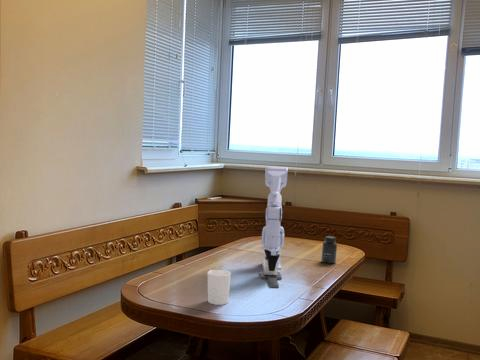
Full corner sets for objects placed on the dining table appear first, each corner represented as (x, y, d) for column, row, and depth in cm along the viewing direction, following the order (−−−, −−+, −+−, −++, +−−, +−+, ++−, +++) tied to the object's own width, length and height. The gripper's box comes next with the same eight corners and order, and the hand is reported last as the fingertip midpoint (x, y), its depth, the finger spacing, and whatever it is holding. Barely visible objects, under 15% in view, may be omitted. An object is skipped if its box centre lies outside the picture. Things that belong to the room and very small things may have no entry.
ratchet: (260, 274, 204) (260, 264, 204) (279, 274, 205) (279, 264, 204) (263, 287, 185) (264, 276, 185) (284, 287, 186) (285, 276, 185)
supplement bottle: (325, 264, 226) (326, 238, 225) (318, 260, 233) (320, 235, 232) (338, 263, 228) (340, 238, 227) (332, 260, 235) (333, 235, 234)
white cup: (229, 298, 170) (230, 270, 169) (229, 306, 162) (231, 276, 161) (206, 297, 170) (207, 269, 169) (205, 305, 162) (207, 275, 161)
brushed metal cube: (263, 271, 203) (264, 256, 202) (276, 271, 203) (276, 257, 203) (264, 274, 198) (265, 259, 197) (277, 274, 198) (278, 260, 197)
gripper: (261, 232, 206) (259, 264, 207) (264, 239, 192) (262, 273, 193) (278, 233, 207) (276, 264, 208) (282, 239, 192) (280, 273, 193)
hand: (271, 269), depth 200 cm, fingers closed on brushed metal cube, 5 cm apart
